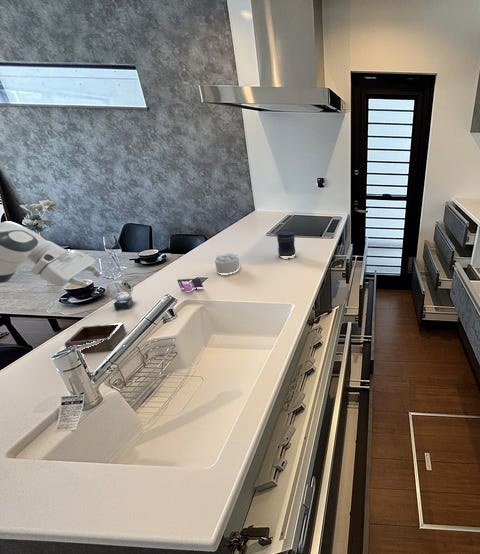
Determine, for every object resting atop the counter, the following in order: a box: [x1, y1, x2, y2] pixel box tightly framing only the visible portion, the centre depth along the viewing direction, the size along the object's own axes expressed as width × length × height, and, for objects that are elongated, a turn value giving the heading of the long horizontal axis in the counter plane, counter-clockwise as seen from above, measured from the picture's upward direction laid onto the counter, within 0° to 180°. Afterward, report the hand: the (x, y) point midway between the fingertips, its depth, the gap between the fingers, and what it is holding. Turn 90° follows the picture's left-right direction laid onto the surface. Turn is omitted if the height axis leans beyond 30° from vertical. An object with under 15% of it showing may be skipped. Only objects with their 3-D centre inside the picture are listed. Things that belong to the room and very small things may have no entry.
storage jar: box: [276, 229, 296, 256], centre depth 179 cm, size 10×10×15 cm
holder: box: [64, 322, 127, 354], centre depth 99 cm, size 12×10×4 cm
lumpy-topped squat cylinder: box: [214, 253, 241, 278], centre depth 156 cm, size 10×13×9 cm
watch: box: [105, 279, 134, 311], centre depth 120 cm, size 6×8×11 cm
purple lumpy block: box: [176, 277, 204, 292], centre depth 134 cm, size 7×5×9 cm
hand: (93, 280), depth 116 cm, fingers open, 8 cm apart
